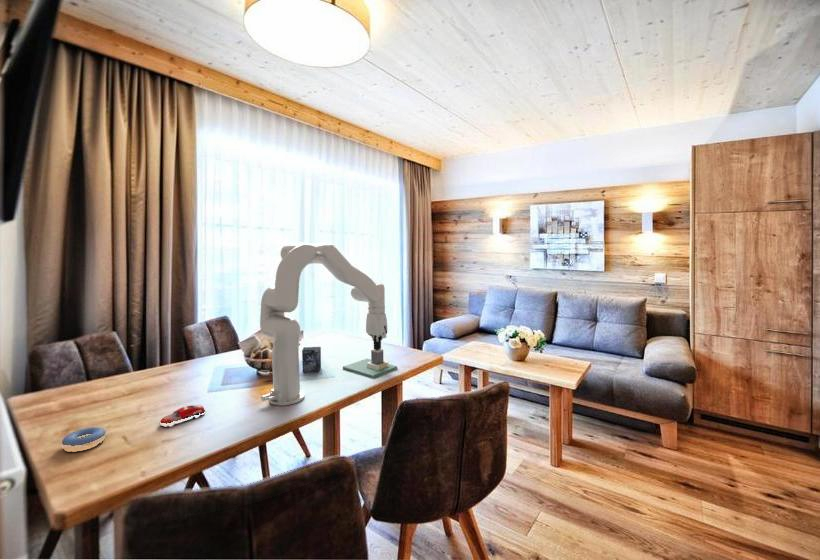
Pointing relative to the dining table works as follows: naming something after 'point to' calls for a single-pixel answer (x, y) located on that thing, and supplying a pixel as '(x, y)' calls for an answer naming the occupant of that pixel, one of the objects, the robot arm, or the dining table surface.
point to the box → (311, 359)
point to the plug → (377, 356)
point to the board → (370, 368)
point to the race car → (183, 413)
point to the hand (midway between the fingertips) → (377, 348)
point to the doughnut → (95, 434)
